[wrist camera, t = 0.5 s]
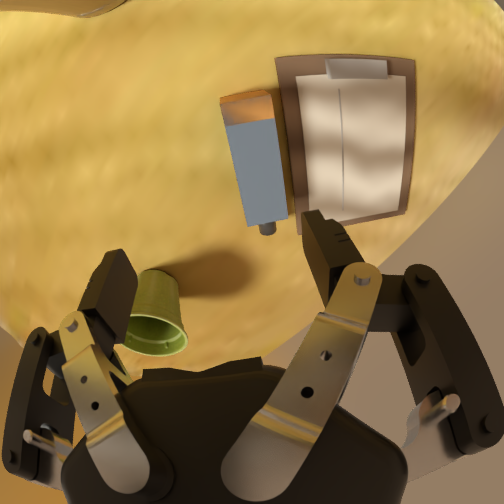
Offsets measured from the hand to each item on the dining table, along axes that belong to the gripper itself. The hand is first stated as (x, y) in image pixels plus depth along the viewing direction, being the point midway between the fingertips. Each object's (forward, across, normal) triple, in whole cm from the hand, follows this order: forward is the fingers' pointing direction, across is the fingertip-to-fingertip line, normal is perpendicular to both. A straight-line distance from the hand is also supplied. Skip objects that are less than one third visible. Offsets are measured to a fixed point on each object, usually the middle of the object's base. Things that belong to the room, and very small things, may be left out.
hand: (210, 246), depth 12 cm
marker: (+17, -3, +3) cm, 17 cm away
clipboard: (+16, -14, +2) cm, 22 cm away
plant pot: (+17, +12, +17) cm, 27 cm away
